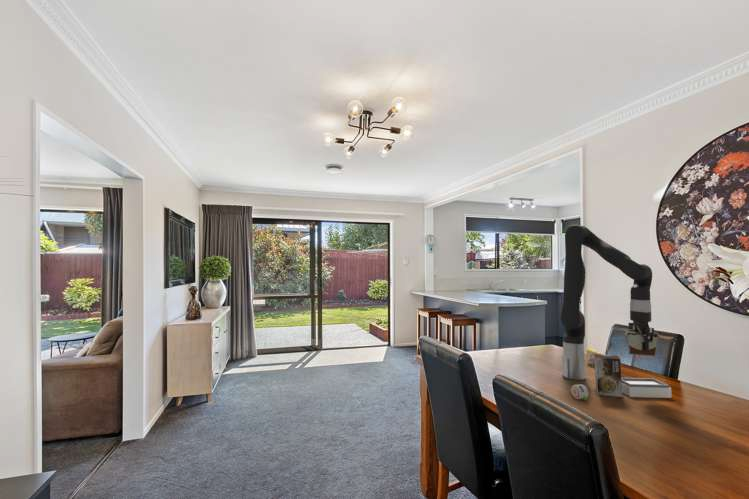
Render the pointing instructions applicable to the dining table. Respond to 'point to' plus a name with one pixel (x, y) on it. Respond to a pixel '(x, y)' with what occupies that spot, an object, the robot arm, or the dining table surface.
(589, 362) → the candy box
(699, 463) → the dining table surface
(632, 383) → the base
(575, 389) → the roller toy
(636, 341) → the food container
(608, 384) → the coffee box
